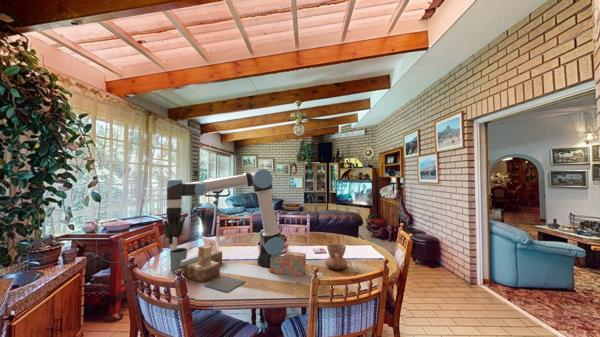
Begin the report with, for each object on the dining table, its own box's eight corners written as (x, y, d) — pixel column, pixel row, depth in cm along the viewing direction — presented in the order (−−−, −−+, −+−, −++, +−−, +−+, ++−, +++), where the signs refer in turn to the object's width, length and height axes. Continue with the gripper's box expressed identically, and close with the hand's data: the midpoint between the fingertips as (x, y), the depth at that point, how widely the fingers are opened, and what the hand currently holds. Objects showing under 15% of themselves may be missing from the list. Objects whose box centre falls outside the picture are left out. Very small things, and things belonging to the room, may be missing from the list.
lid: (218, 266, 146) (218, 245, 146) (203, 273, 136) (204, 250, 136) (198, 262, 153) (198, 242, 154) (183, 267, 143) (183, 246, 144)
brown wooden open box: (237, 266, 160) (237, 254, 160) (199, 284, 132) (199, 271, 133) (217, 261, 168) (217, 250, 168) (177, 278, 140) (177, 265, 140)
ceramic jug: (325, 262, 168) (325, 241, 169) (346, 263, 166) (346, 242, 167) (324, 272, 150) (324, 249, 151) (348, 274, 148) (348, 250, 149)
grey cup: (182, 264, 162) (183, 246, 162) (190, 268, 155) (190, 249, 156) (166, 269, 154) (167, 250, 154) (173, 273, 147) (174, 253, 148)
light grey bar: (206, 257, 154) (206, 253, 154) (183, 265, 139) (183, 261, 139) (203, 256, 155) (203, 252, 155) (180, 265, 140) (180, 260, 140)
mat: (245, 282, 136) (245, 281, 136) (227, 293, 123) (227, 291, 123) (223, 276, 143) (223, 275, 143) (204, 286, 131) (204, 285, 131)
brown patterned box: (269, 272, 150) (269, 252, 150) (273, 269, 156) (273, 249, 156) (303, 277, 144) (303, 256, 144) (305, 273, 150) (305, 252, 150)
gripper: (180, 205, 144) (179, 245, 143) (157, 207, 131) (156, 252, 130) (189, 205, 140) (188, 247, 140) (167, 208, 128) (166, 254, 127)
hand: (173, 249), depth 135 cm, fingers closed
